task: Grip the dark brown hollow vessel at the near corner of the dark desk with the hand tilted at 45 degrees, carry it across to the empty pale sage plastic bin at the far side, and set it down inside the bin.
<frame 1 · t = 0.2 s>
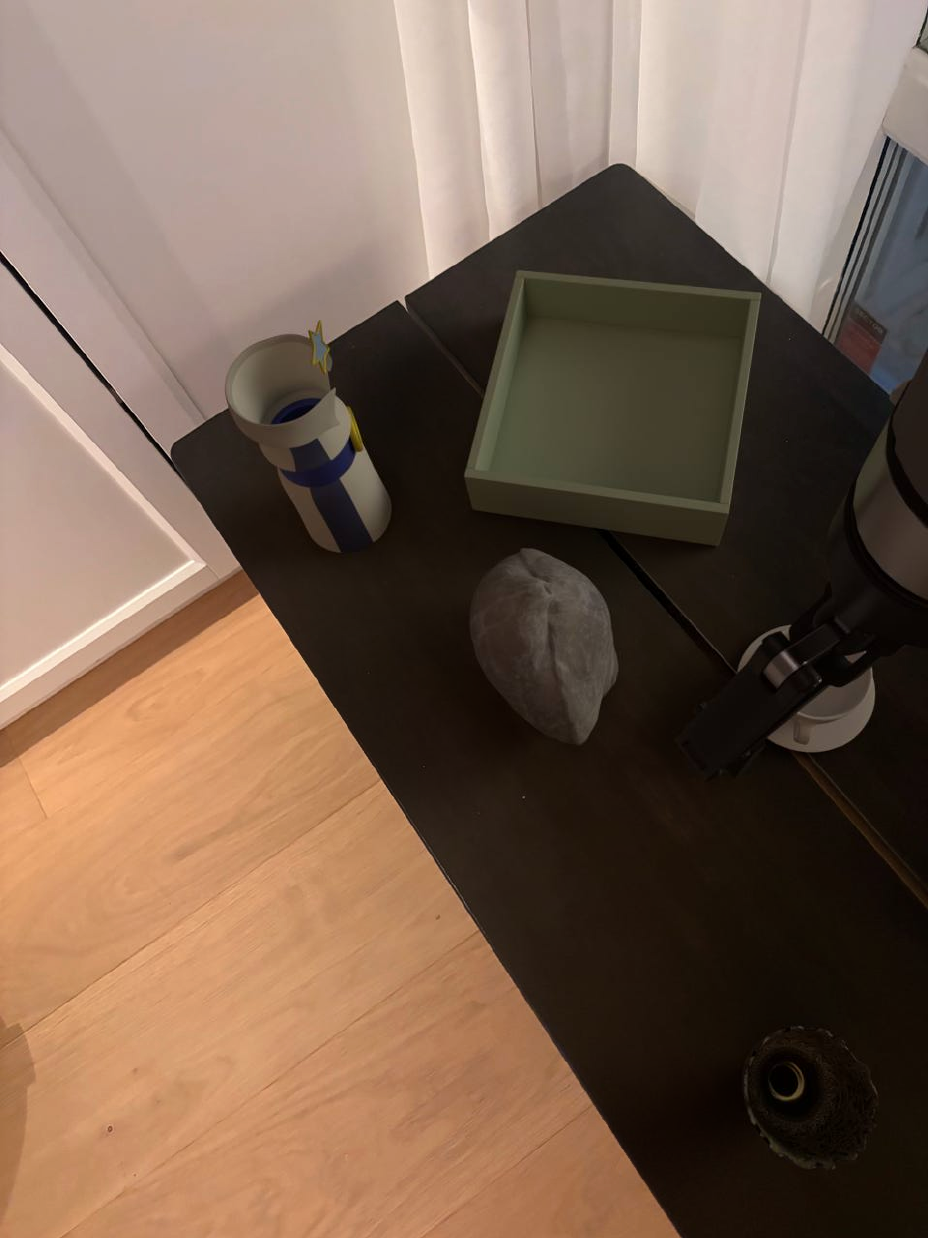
hand: (820, 687, 52), 17 cm above the table, tool pointing down, fingers open, 13 cm apart
dark brown hollow vessel: (783, 1080, 60), on the table
bin: (613, 422, 79), on the table
decorative stone: (550, 669, 72), on the table
teacup: (802, 689, 69), on the table
white blue vase: (349, 510, 80), on the table
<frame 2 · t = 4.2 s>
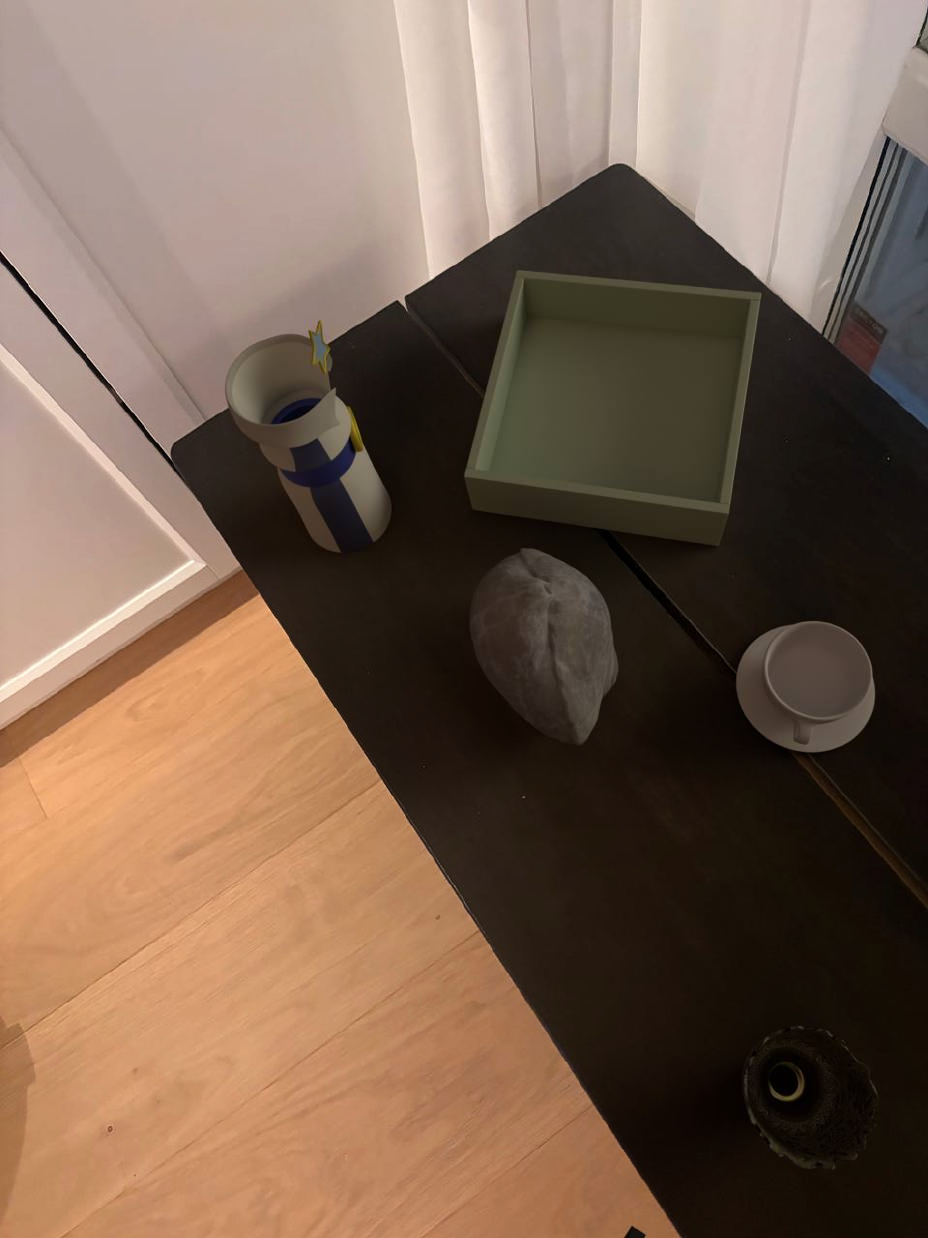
nothing on the table moved.
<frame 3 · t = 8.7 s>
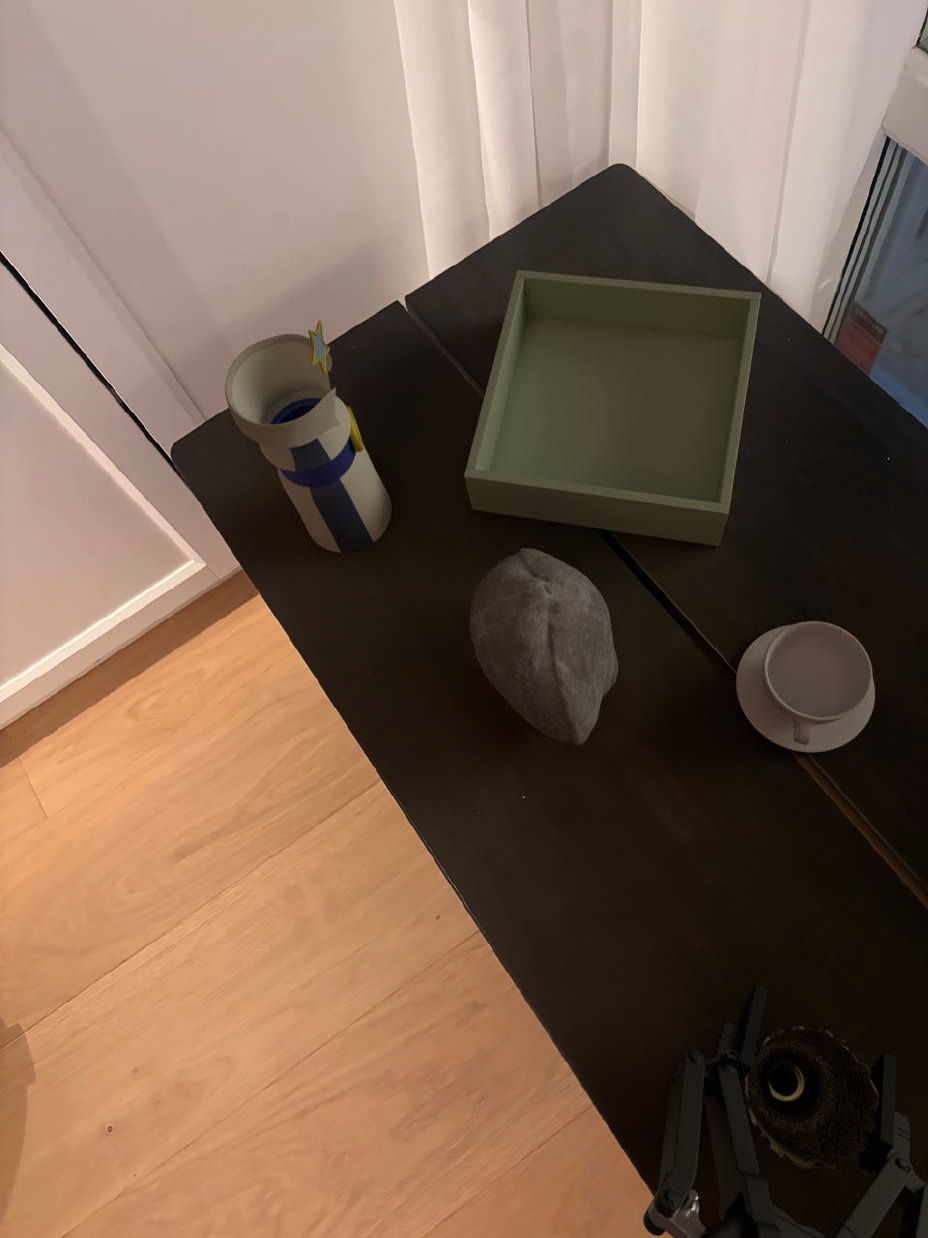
hand: (815, 1034, 58), 4 cm above the table, tool tilted 45°, fingers closed on dark brown hollow vessel, 7 cm apart
dark brown hollow vessel: (783, 1080, 60), on the table, touching gripper
everything else where it was.
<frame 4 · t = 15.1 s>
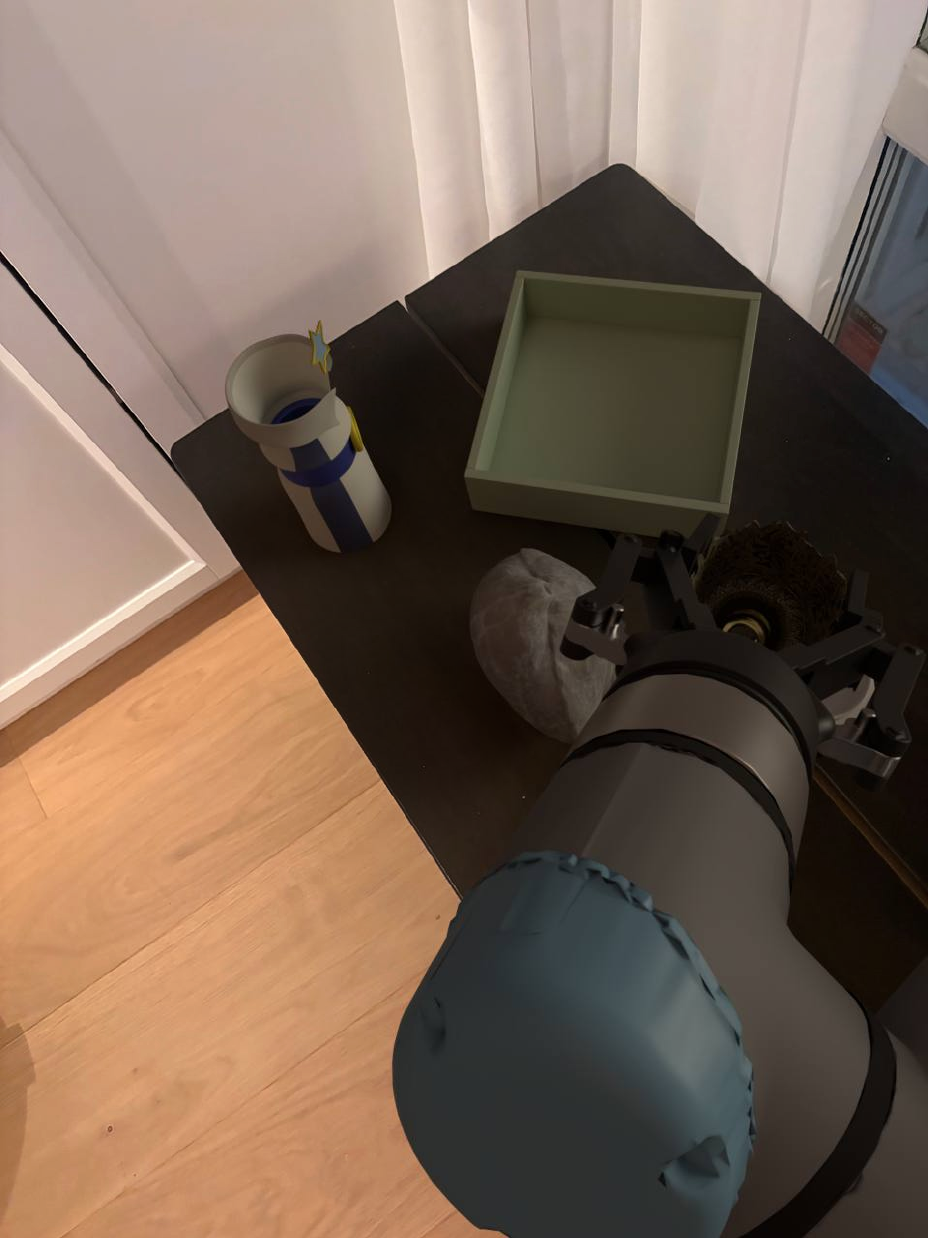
hand: (776, 564, 50), 22 cm above the table, tool tilted 45°, fingers closed on dark brown hollow vessel, 7 cm apart
dark brown hollow vessel: (741, 641, 52), point 18 cm above the table, touching gripper
everything else where it was.
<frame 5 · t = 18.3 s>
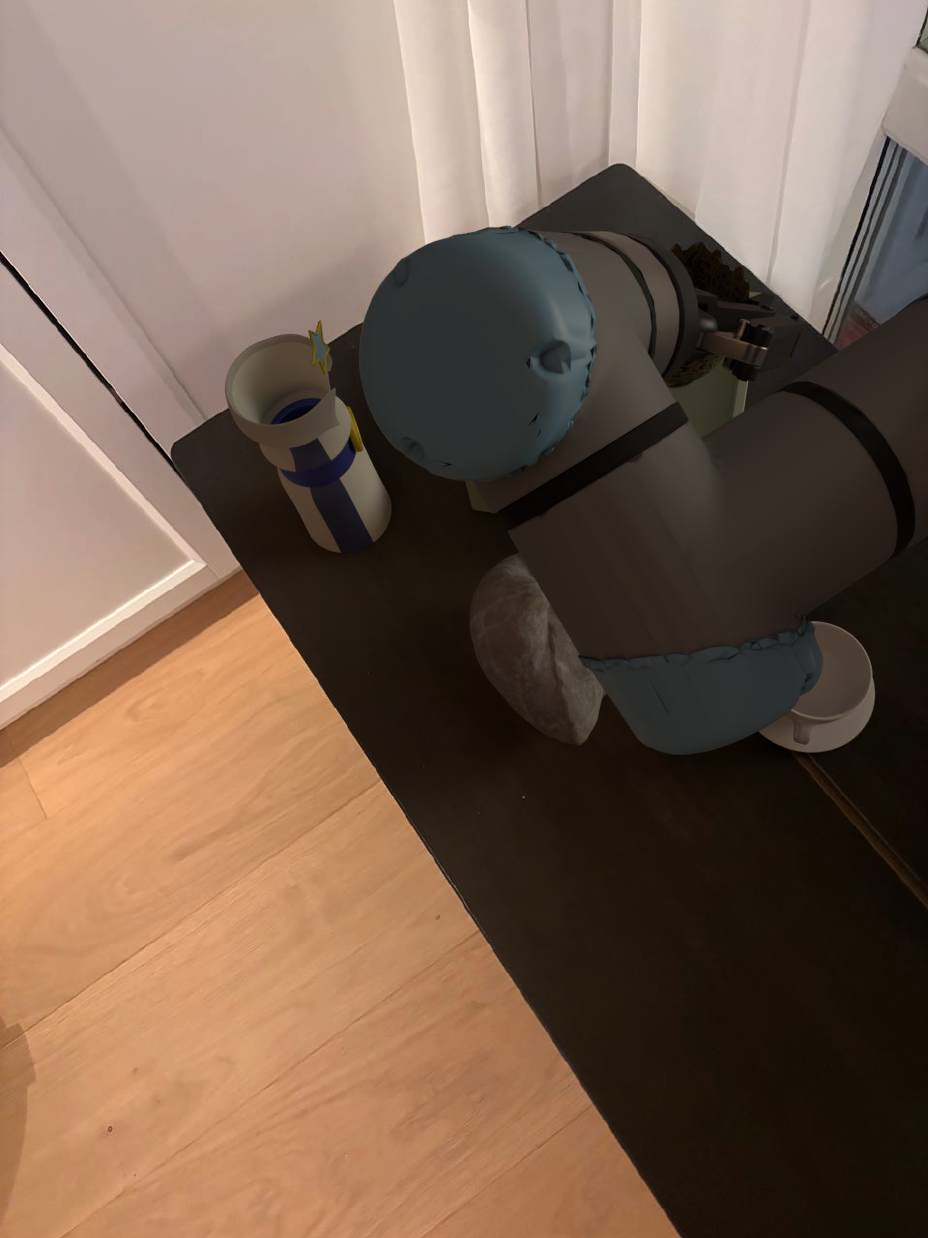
hand: (700, 296, 59), 19 cm above the table, tool tilted 45°, fingers closed on dark brown hollow vessel, 7 cm apart
dark brown hollow vessel: (673, 372, 62), point 15 cm above the table, touching gripper
everything else where it was.
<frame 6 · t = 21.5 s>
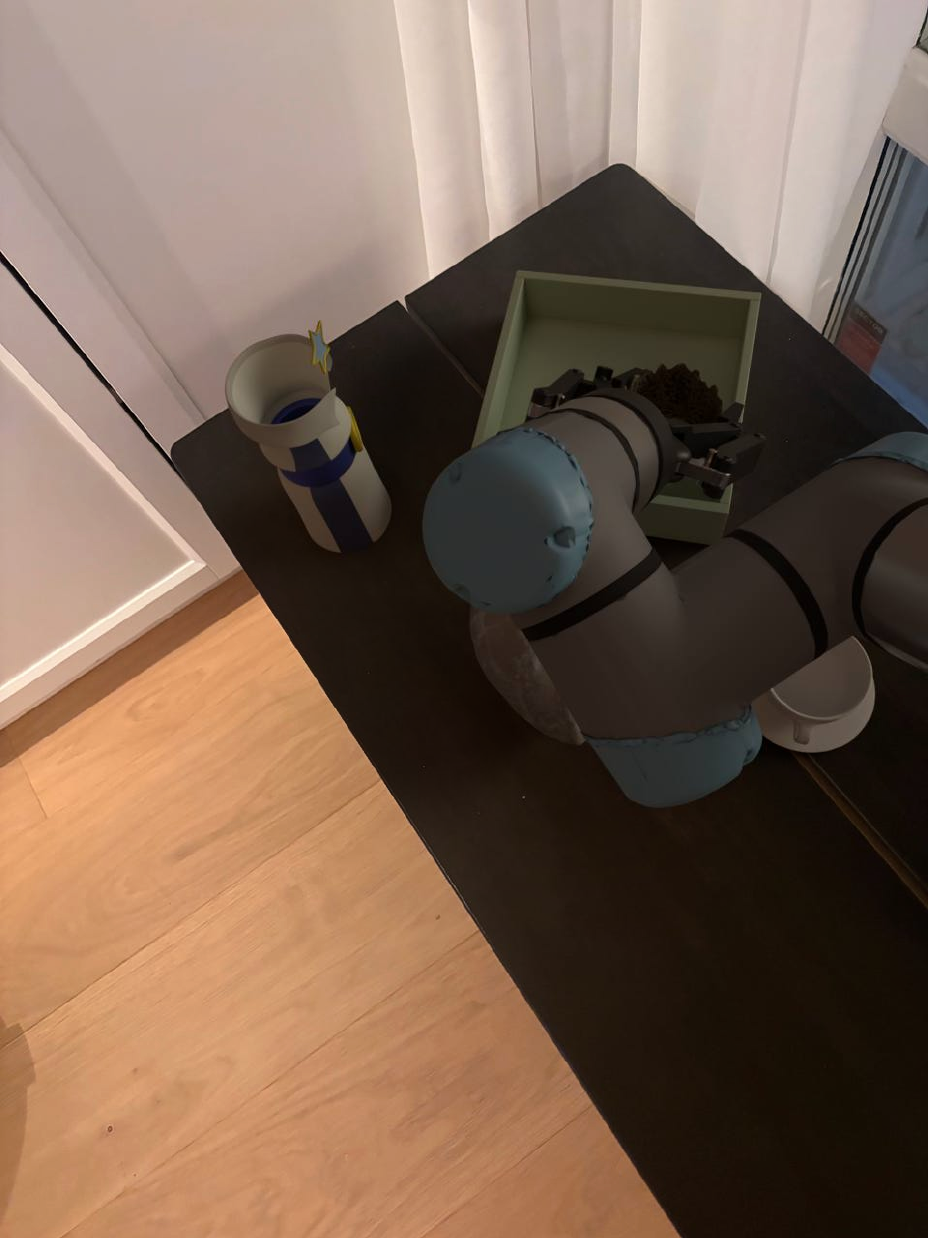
hand: (683, 402, 71), 7 cm above the table, tool tilted 45°, fingers closed on dark brown hollow vessel, 7 cm apart
dark brown hollow vessel: (661, 462, 73), point 3 cm above the table, touching gripper
everything else where it was.
when the fingers open (7 cm above the table, at t = 22.1 s): dark brown hollow vessel stays where it is, resting on bin.
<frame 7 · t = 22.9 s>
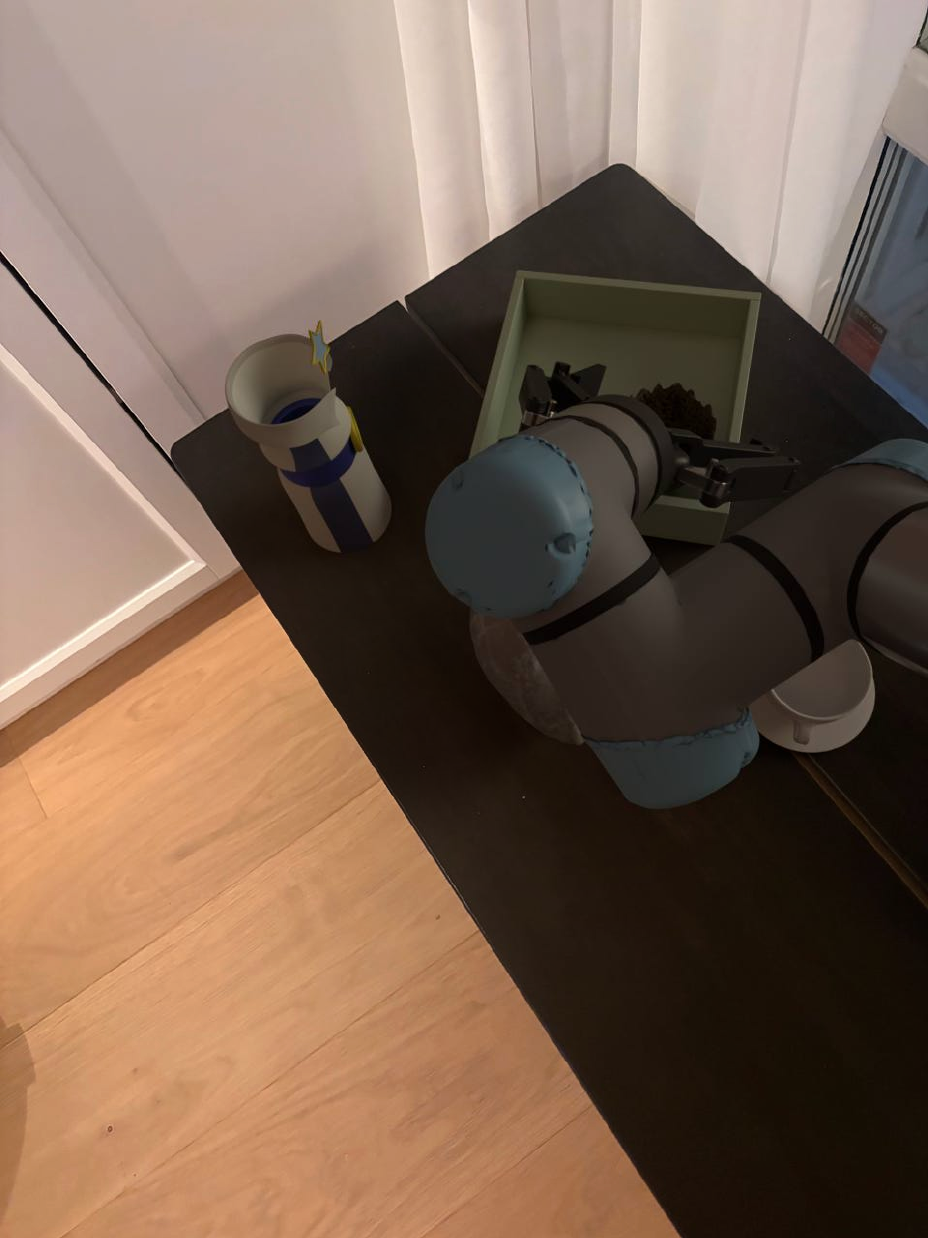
hand: (677, 410, 70), 7 cm above the table, tool tilted 45°, fingers open, 13 cm apart
dark brown hollow vessel: (658, 477, 76), point 1 cm above the table, touching bin
everything else where it was.
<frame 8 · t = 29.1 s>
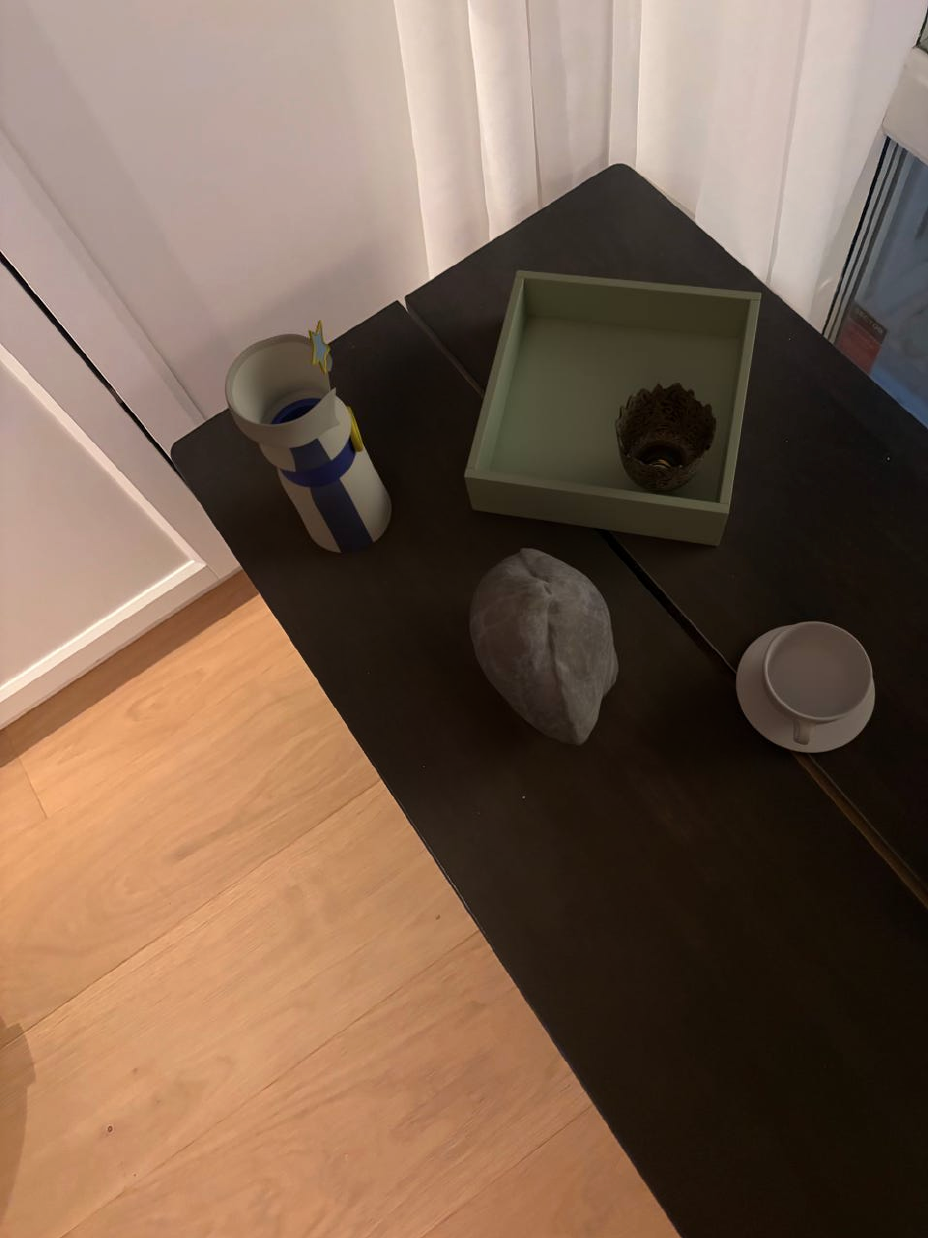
nothing on the table moved.
at the end: dark brown hollow vessel inside the target area in the bin (6.9 cm from its centre), point 0.6 cm above the bin's base; dark brown hollow vessel tilted 0° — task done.
